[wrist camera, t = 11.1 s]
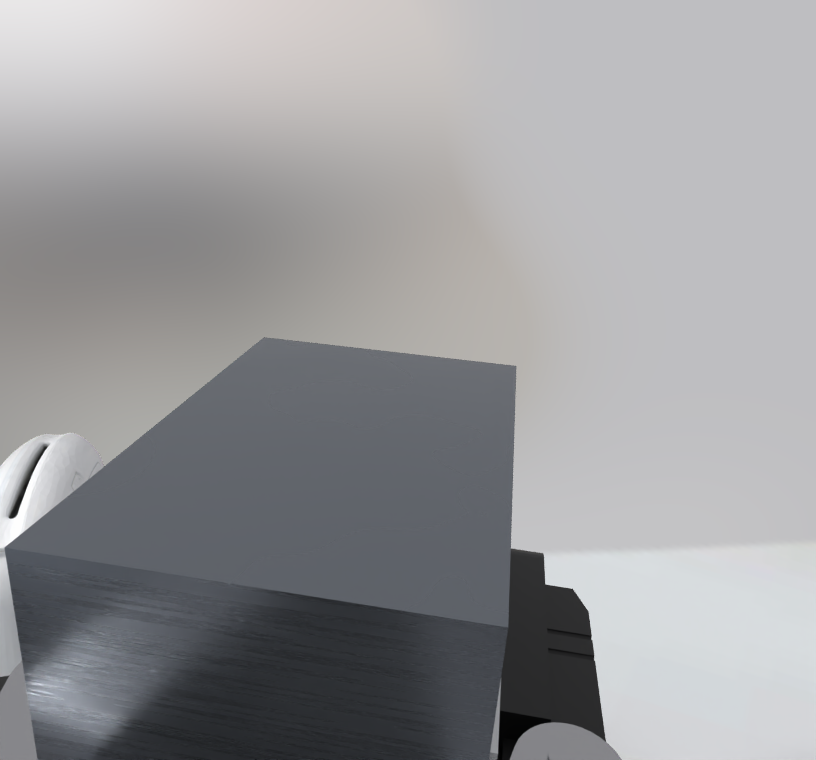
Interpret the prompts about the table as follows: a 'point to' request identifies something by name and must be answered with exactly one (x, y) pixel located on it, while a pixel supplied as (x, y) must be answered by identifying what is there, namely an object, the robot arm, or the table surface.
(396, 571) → the block
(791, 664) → the table surface
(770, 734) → the table surface
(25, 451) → the photo printer
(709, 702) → the table surface
